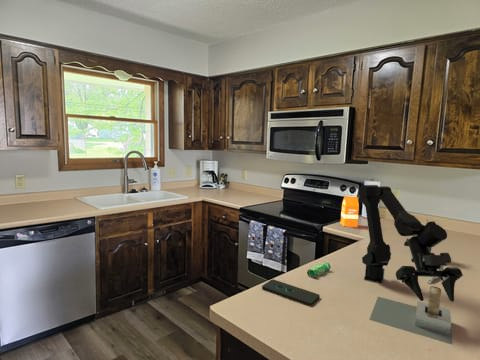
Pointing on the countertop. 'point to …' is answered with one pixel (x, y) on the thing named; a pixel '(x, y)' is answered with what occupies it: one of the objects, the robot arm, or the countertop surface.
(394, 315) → the mat
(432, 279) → the caliper
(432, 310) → the pin
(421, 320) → the square peg hole block
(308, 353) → the countertop surface
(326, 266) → the candy
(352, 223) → the orange juice
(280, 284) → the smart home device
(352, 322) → the countertop surface
